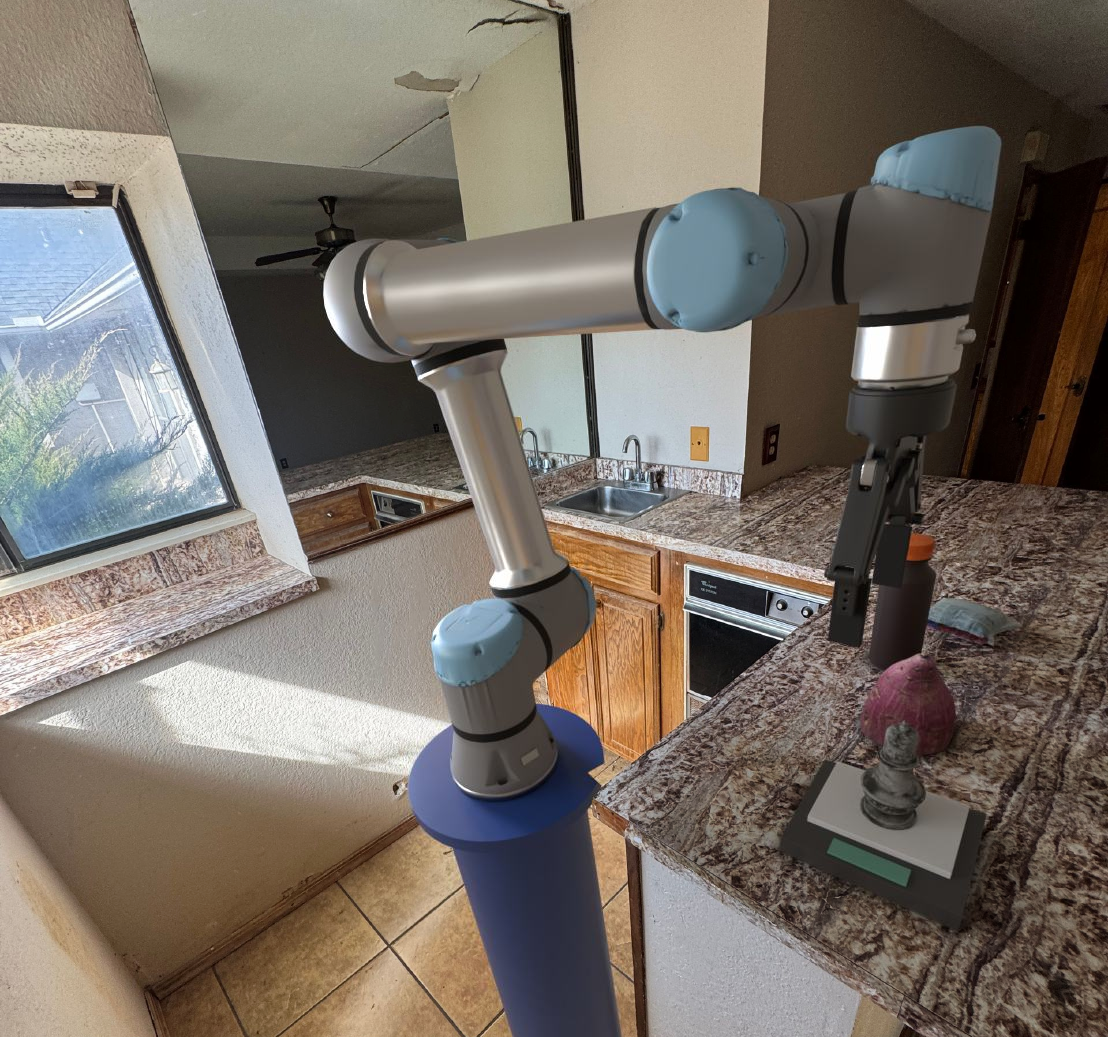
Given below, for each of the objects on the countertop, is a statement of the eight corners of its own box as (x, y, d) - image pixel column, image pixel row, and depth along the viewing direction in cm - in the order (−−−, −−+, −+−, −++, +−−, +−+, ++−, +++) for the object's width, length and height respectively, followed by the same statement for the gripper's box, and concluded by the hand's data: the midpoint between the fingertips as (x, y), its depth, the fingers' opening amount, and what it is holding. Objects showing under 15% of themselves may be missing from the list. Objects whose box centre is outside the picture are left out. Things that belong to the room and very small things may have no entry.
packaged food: (941, 611, 98) (946, 585, 96) (1020, 635, 89) (1028, 608, 87) (910, 628, 95) (915, 602, 93) (988, 656, 86) (995, 628, 83)
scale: (779, 851, 61) (781, 831, 60) (823, 772, 70) (825, 754, 69) (957, 931, 51) (964, 910, 50) (982, 828, 60) (988, 808, 59)
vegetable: (943, 780, 70) (991, 707, 60) (851, 752, 75) (881, 679, 64) (949, 715, 76) (993, 639, 66) (864, 693, 81) (893, 617, 70)
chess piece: (932, 813, 59) (955, 721, 53) (899, 842, 57) (918, 749, 51) (877, 782, 64) (892, 694, 58) (844, 807, 61) (857, 718, 56)
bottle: (908, 649, 90) (929, 528, 81) (927, 672, 84) (953, 546, 75) (861, 651, 91) (878, 533, 82) (877, 675, 85) (897, 550, 76)
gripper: (917, 410, 36) (870, 685, 46) (985, 355, 52) (939, 570, 62) (797, 410, 41) (778, 660, 51) (893, 360, 56) (864, 559, 66)
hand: (867, 611), depth 56 cm, fingers open, 13 cm apart
